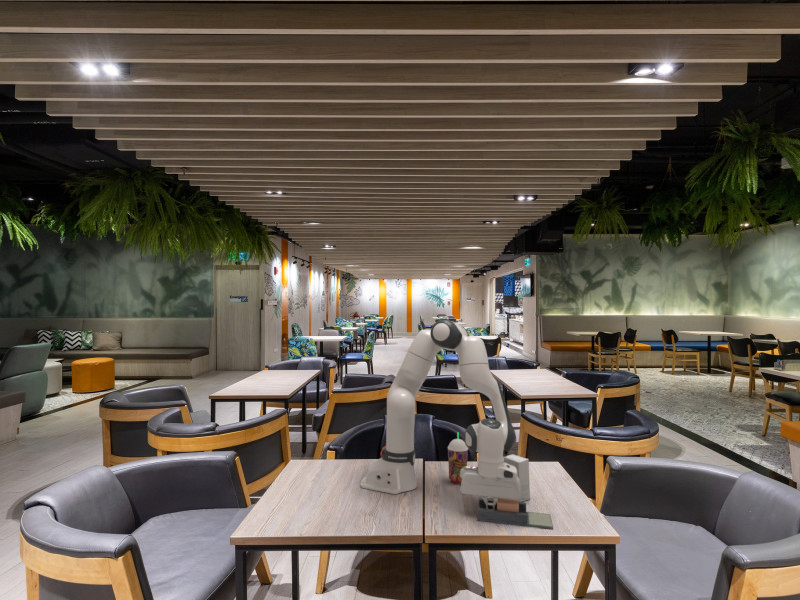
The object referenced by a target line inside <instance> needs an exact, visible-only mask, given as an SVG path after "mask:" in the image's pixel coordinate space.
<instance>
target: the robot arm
mask: <svg viewBox="0 0 800 600" xmlns="http://www.w3.org/2000/svg"><path fill="white" fill-rule="evenodd" d="M441 350H443V351H447V352H448V351H450V352H455V353H456V354H457V357H458V367H459V368H458V369H459V371H458V372H459V376H460V380H461V382H462V383H463V384H464V385H465V386H466V387H467V388H468V389H471V390H473V391H474V392H478V393H481V394H483V395H485V396H486V397H487V398H488V399H489V400H490V402H491V406H492V409H493V414H494V417H495V419H494V418H483V419H481V420H479V422H478V423H473V424H470V425H468V426H467V428H466V429H465V432H464V442H465V444H466V446H467V447H468V450H470V451H471V452H475V453H476V452H477V453H478V457H477V466H468V465H467V466H465V467H463V468H461V470H460V477H461V478H462V482H461V484H460V492H461V494H462V495H467V496H477V497H478V496H479V497H482V498H483V500H484V502H485V504H486V509H492V510H495V505H496V503H497V501H498V498H504V499H514V500H519V499H520V498H521V488H520V481H519V478H518V476H517V469H516V467H514V466H512V465H510V464H507V463H505V462H504V458H503V457H504V452H510V451H511V450H512V448H514V446H515V445H516V443H517V434H516V430H515V428H514V426H513V424H512V421H511V418H510V414H509V410H508V407H507V403H506V400H505V396H504V393H503V390H502V387H501V384H500V382H499V380H498V379H496V378H495V377H494V376H493V374H492V372H491V369H490V364H489V358H488V354H487V349H486V345H485V343H484V340H483V339H481V338H480V337H478V336H473V335H472V336H470V334H469V332H468V330H467V329H466V328H465V326H464V327H463V326H462V325H460V324H459V323H457V322H456V321H455V322H454V321H452V320H449V319H441V320H437V321H436V322H435V323H434V324H432V327H431V329H421V330H420V331H419V332H418V333H417V334H416V336H415V337H414V338H413V340H412V342H411V344H410V346H409V348H408V350H407V352H406V354H405V356H404V358H403V360H402V363H401V365H400V367H399V369H398V372H397V373H396V376H395V377H394V379H393V380H392V381H393V382H392V384H391V385H390V387H389V390H388V392H387V395H386V429H385V430H386V433H385V436H386V437H385V438H386V439H385V442H386V443H385V445H384V446H383V447H382V449H381V451H380V458H379V459H377V460H376V461H374V462H373V463H372V464H371V465H370V466H369V467H368V469H367V472H366V475H365V476H364V477H363V478H362V479H361V481H360V487H361V488H363V489H365V490H370V491H377V492H383V493H387V494H392V495H397V494H400V493H404V492H409V491H414V490H415V489H416V488H417V487H418V481H417V478H416V477H417V476H416V469H415V463H416V450H415V448H414V447H415V445H414V444H415V421H416V400H415V399H416V397H417V395H418V393H419V391H420V389H421V388H422V386H423V383H425V381H426V379H427V377H428V374H429V372H430V371H431V368H432V365H433V364H434V361H435V358H436V357H437V355H438V353H439V352H440V351H441ZM488 498H493V499H494V502H493V503H488V501H487V499H488Z"/></svg>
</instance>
